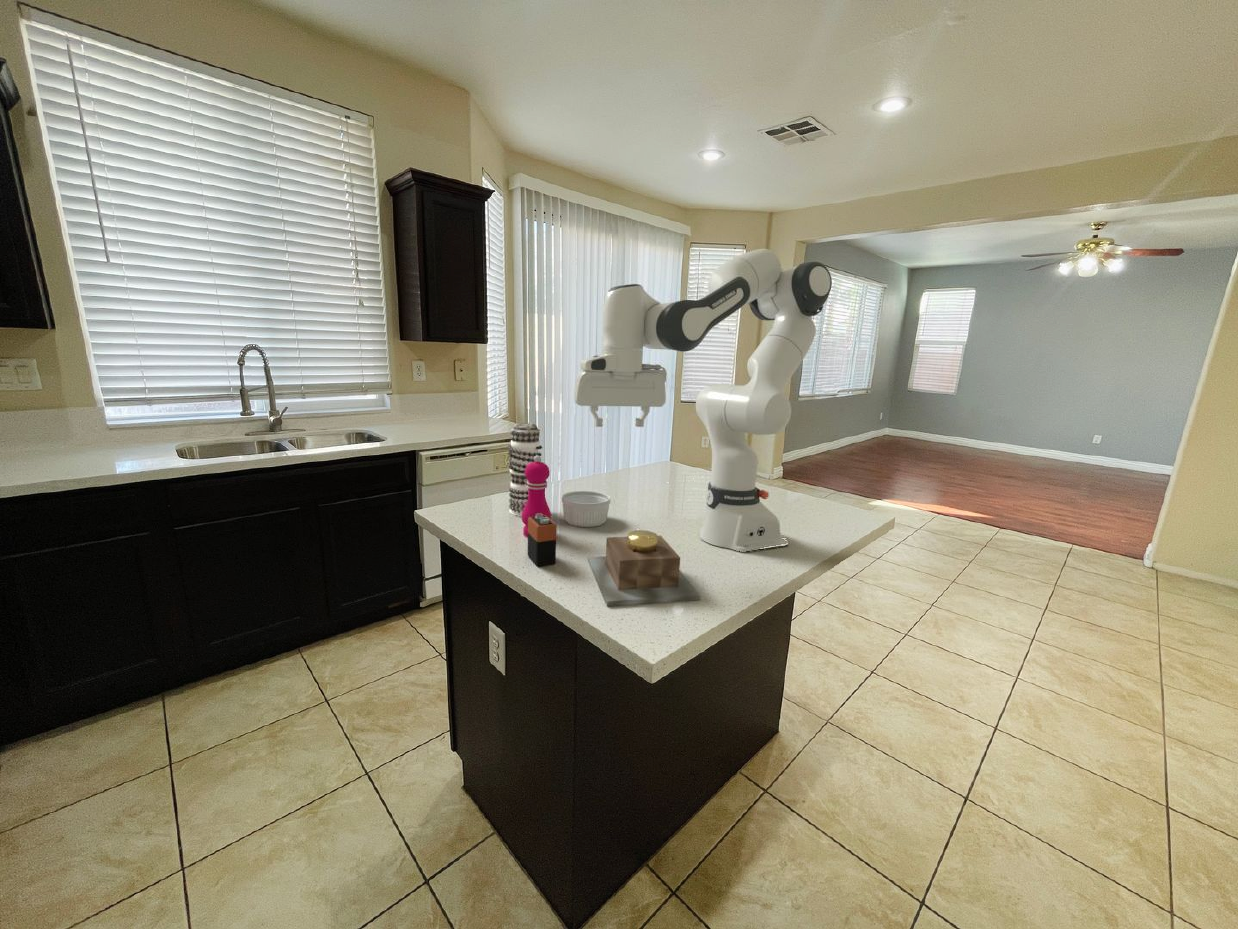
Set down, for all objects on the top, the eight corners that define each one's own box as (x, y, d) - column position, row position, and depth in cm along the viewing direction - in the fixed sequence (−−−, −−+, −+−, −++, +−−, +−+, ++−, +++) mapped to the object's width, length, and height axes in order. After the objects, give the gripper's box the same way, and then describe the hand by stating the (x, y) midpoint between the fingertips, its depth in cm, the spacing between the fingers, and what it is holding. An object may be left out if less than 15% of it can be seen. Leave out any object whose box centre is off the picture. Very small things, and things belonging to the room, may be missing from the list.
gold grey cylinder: (650, 566, 103) (652, 529, 101) (658, 579, 97) (661, 540, 95) (622, 568, 101) (624, 530, 100) (629, 581, 96) (632, 541, 94)
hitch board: (665, 557, 111) (667, 528, 110) (699, 600, 92) (703, 565, 91) (588, 561, 107) (589, 531, 105) (606, 606, 88) (608, 570, 87)
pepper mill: (544, 540, 118) (546, 459, 113) (516, 537, 119) (517, 456, 115) (554, 530, 124) (556, 454, 120) (527, 527, 126) (528, 451, 122)
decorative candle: (527, 504, 145) (528, 421, 139) (547, 512, 139) (549, 425, 133) (501, 511, 138) (501, 423, 132) (521, 519, 132) (522, 427, 127)
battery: (536, 567, 103) (537, 522, 100) (526, 555, 108) (527, 512, 106) (556, 564, 105) (557, 520, 102) (545, 552, 110) (546, 510, 108)
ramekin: (567, 511, 141) (568, 488, 139) (612, 515, 139) (614, 492, 138) (555, 526, 128) (556, 501, 126) (605, 531, 126) (606, 505, 125)
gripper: (662, 364, 111) (658, 424, 114) (573, 360, 106) (572, 424, 109) (672, 365, 105) (668, 428, 108) (578, 361, 100) (577, 428, 103)
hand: (619, 426), depth 108 cm, fingers open, 8 cm apart
